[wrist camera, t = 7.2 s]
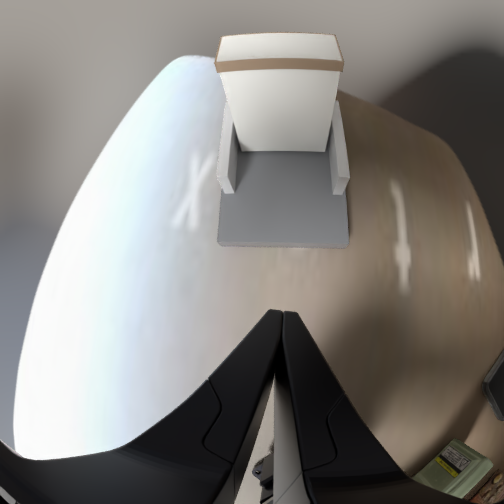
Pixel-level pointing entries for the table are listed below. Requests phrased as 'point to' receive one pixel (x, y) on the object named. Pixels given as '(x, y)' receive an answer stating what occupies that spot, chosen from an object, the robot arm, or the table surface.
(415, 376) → the table surface
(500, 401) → the phone
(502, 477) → the book
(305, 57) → the white box
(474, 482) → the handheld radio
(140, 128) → the table surface
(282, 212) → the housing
